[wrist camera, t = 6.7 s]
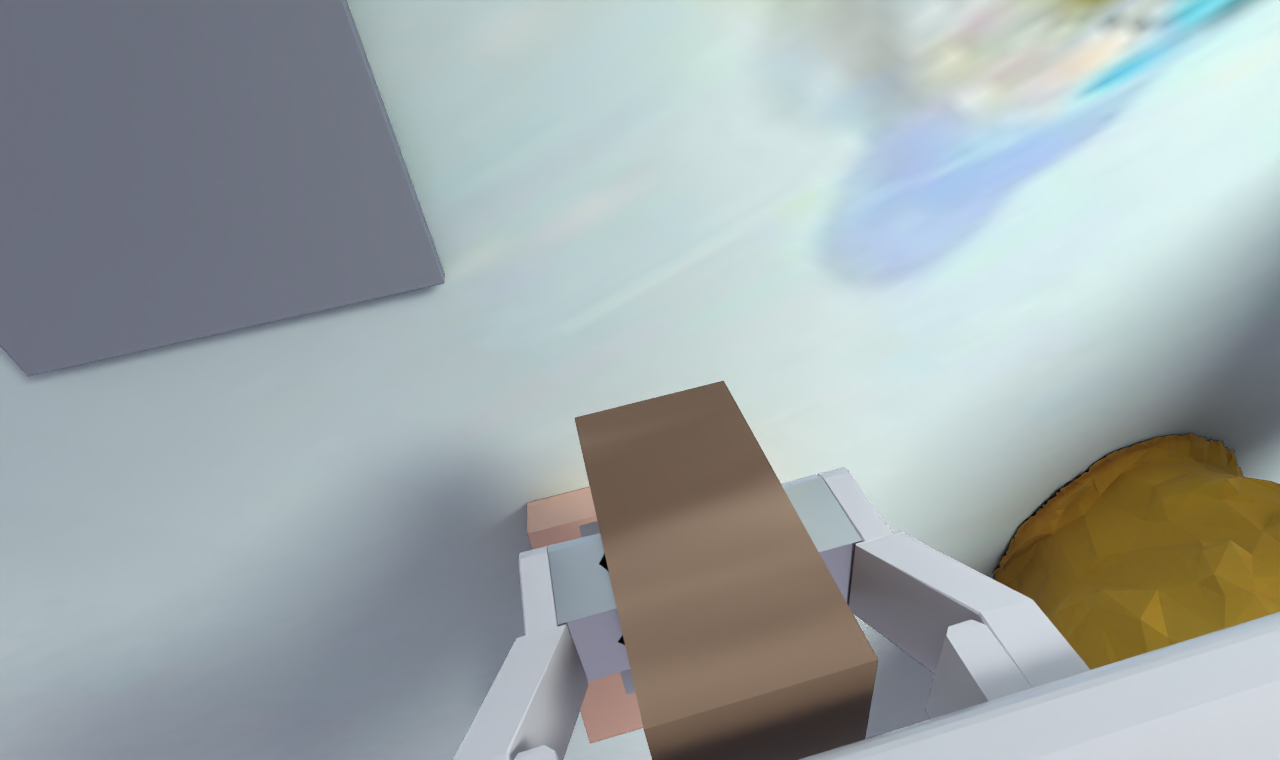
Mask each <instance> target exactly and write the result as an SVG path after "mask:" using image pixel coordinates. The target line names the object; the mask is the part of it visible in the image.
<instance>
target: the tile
mask: <svg viewBox="0 0 1280 760" xmlns="http://www.w3.org/2000/svg"><path fill="white" fill-rule="evenodd" d="M595 521H597V516H596V512H595V507H594V503H593V498H592V494H591V489H590V487H587V488H583V489H579V490H576V491H572V492H568V493H564V494H560V495H556V496H552V497H549V498H545V499H541V500H537V501H533V502H529V503H527V534H528V538H529V541H530V544H531V548H532V550H533V549H537V548H541V547H545V546H548V545H553V544H557V543H561V542H565V541H569V540H574V539H578V538H581V533H580V528H579V526H580V525H584V524H587V523H591V522H595ZM580 711H581V715H582V718H583V721H584V725H585V728H586V731H587V735H588V738H589V741H590V743H593V742H597V741H600V740H604V739H607V738H610V737H614V736H617V735H620V734H624V733H627V732H631V731H634V730H637V729H641V728H643V723H642V719H641V714H640V710H639V705H638V701H637V696H636V692H634V693H630V694H626V691H625V688H624V684H623V681H622V678H621V674H620V672H618V673H615V674H612V675H609V676H606V677H602V678H599V679H596V680H593V681H590V682H588V688H587V691H586V694H585V697H584V700H583V703H582V706H581V709H580Z"/></svg>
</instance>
